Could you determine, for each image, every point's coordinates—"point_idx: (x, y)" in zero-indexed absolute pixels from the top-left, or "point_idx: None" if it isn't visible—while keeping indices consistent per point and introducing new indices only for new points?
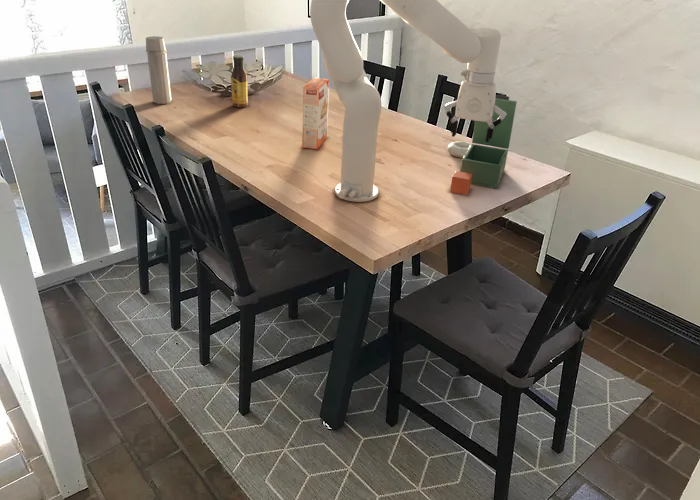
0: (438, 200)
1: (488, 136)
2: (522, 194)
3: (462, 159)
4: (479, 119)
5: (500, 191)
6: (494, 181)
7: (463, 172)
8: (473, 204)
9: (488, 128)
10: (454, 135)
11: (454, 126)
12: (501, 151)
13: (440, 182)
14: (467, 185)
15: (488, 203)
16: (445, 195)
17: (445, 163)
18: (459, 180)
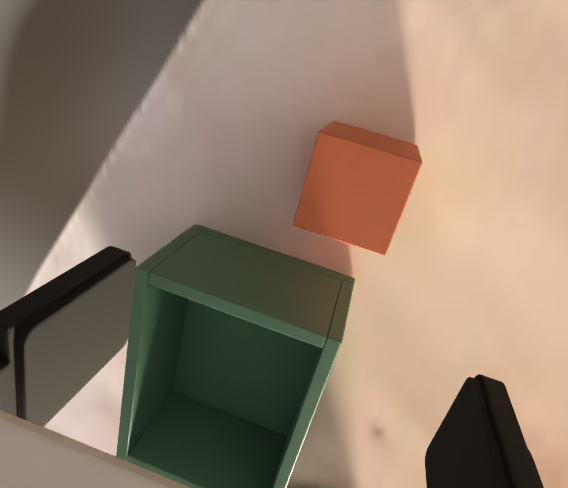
0: (507, 11)
1: (73, 269)
2: (97, 182)
3: (340, 341)
4: (18, 450)
5: (179, 198)
6: (194, 239)
7: (343, 236)
8: (308, 8)
9: (5, 329)
10: (473, 381)
11: (521, 484)
12: (146, 453)
13: (450, 259)
14: (329, 128)
15: (233, 44)
16: (450, 97)
17: (392, 451)
18: (376, 145)
